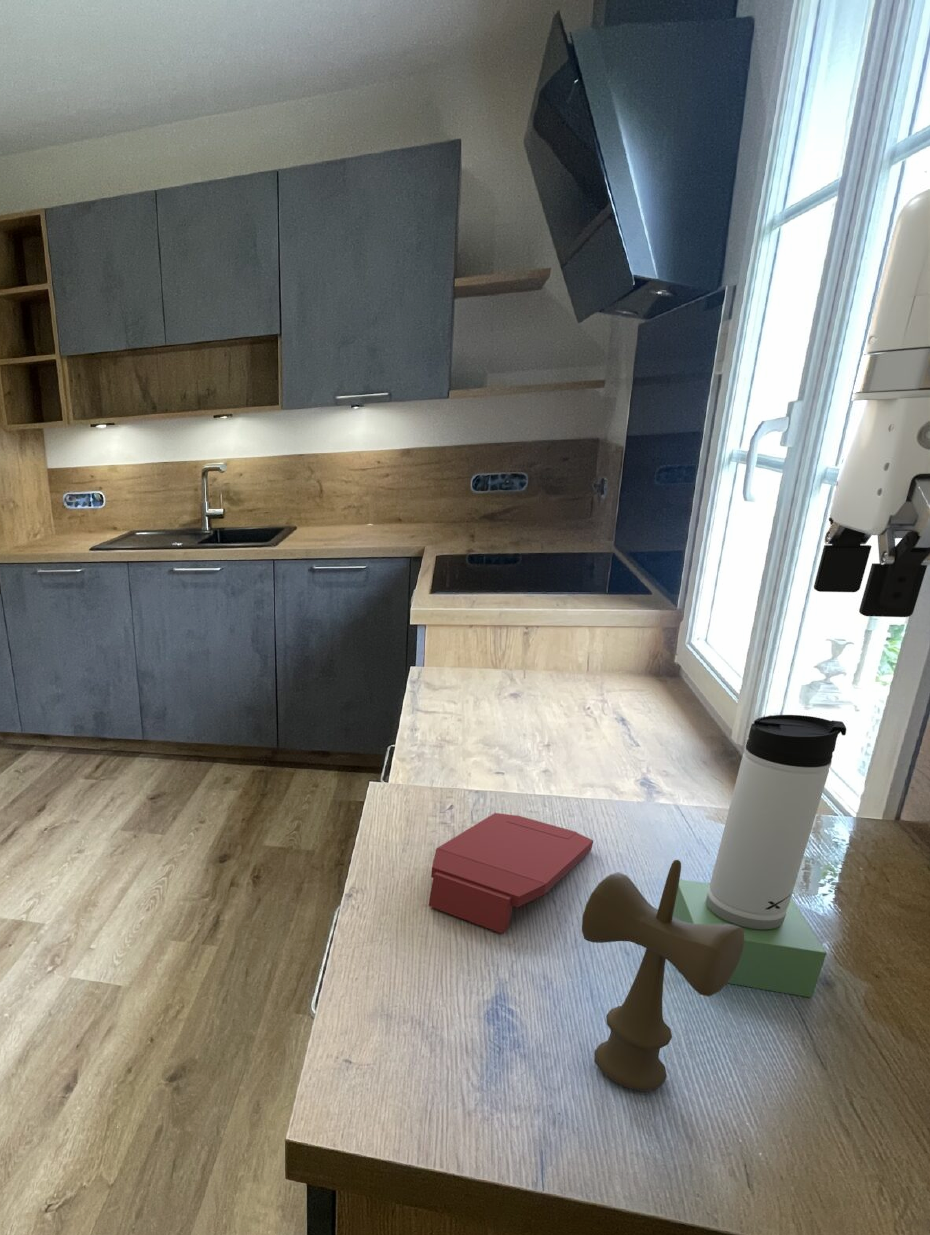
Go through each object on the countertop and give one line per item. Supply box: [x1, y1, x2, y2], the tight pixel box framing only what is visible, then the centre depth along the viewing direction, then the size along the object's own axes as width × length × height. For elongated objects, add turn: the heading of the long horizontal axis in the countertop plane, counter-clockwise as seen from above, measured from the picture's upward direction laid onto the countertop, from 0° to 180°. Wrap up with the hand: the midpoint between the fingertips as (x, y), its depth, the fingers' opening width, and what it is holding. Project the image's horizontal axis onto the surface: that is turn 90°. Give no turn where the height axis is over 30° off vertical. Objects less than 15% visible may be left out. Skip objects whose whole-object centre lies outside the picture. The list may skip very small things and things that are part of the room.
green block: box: [673, 878, 827, 998], centre depth 77 cm, size 10×10×5 cm
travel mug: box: [706, 714, 847, 930], centre depth 73 cm, size 6×7×20 cm
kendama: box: [581, 859, 745, 1092], centre depth 61 cm, size 6×10×20 cm, turn 34°
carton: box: [427, 812, 594, 934], centre depth 93 cm, size 12×5×25 cm
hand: (858, 602), depth 65 cm, fingers open, 9 cm apart
